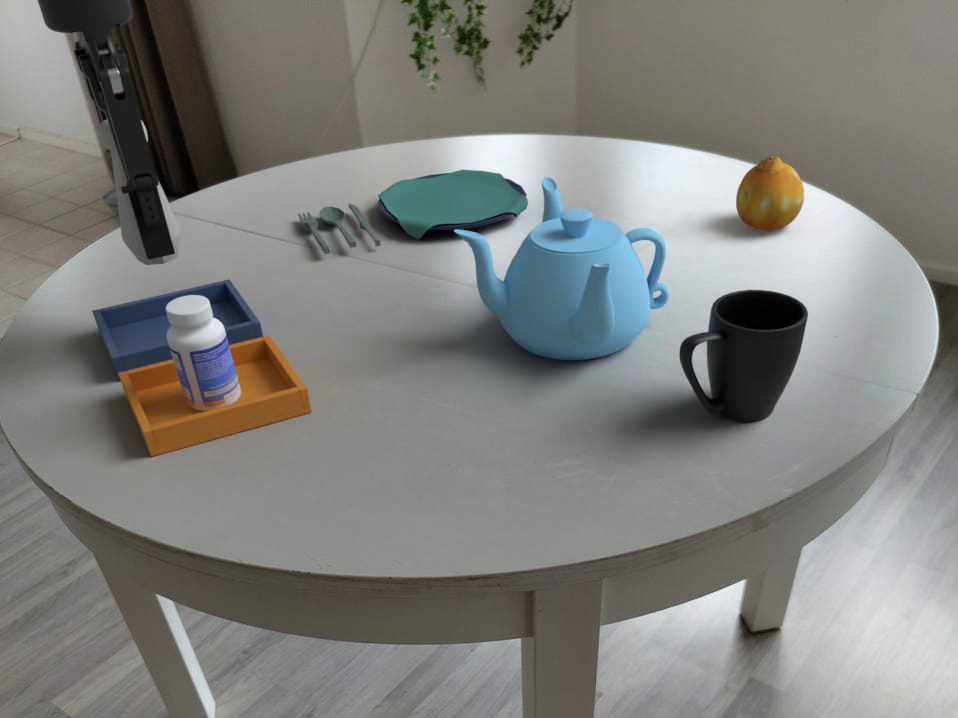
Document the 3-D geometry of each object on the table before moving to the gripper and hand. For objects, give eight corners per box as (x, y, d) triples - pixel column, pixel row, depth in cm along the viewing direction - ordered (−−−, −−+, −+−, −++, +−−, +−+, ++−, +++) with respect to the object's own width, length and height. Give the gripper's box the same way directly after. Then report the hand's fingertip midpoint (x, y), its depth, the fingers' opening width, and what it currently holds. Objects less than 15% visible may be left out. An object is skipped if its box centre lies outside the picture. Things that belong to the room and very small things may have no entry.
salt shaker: (120, 267, 95) (75, 128, 86) (143, 245, 99) (103, 109, 90) (173, 269, 94) (134, 128, 85) (195, 246, 98) (159, 109, 89)
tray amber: (151, 456, 86) (142, 432, 84) (125, 396, 95) (117, 372, 93) (311, 412, 91) (307, 388, 89) (274, 357, 99) (269, 334, 97)
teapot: (455, 348, 99) (447, 229, 90) (545, 281, 110) (546, 169, 101) (600, 388, 92) (606, 263, 83) (681, 312, 102) (694, 194, 94)
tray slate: (119, 381, 97) (111, 358, 95) (99, 332, 105) (91, 310, 103) (265, 344, 101) (260, 321, 99) (234, 300, 110) (229, 278, 108)
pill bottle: (250, 387, 94) (227, 292, 87) (228, 415, 90) (202, 319, 83) (200, 383, 95) (174, 289, 88) (176, 410, 91) (147, 315, 84)
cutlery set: (549, 225, 122) (549, 207, 120) (324, 267, 115) (321, 248, 114) (496, 177, 135) (495, 160, 133) (292, 212, 129) (289, 195, 127)
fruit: (711, 203, 118) (749, 150, 111) (751, 191, 122) (790, 140, 115) (750, 253, 117) (790, 203, 110) (788, 240, 121) (830, 191, 114)
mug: (647, 409, 88) (656, 312, 82) (750, 376, 92) (767, 281, 85) (699, 451, 83) (713, 351, 76) (806, 414, 86) (829, 316, 80)
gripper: (141, -19, 75) (212, 269, 91) (101, -50, 87) (170, 208, 103) (44, -6, 73) (135, 286, 89) (17, -40, 85) (101, 222, 101)
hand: (154, 244), depth 96 cm, fingers closed on salt shaker, 6 cm apart
